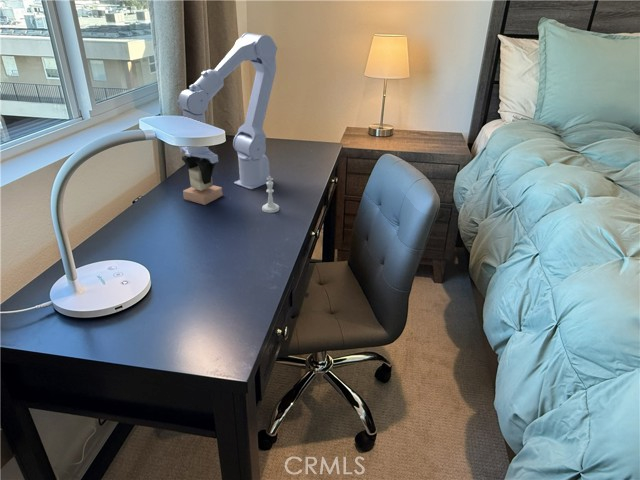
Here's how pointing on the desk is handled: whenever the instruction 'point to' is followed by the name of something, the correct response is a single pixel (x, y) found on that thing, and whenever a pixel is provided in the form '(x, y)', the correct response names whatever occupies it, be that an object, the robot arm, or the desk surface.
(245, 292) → the desk surface
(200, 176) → the metal block
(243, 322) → the desk surface
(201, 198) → the block
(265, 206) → the chess piece
